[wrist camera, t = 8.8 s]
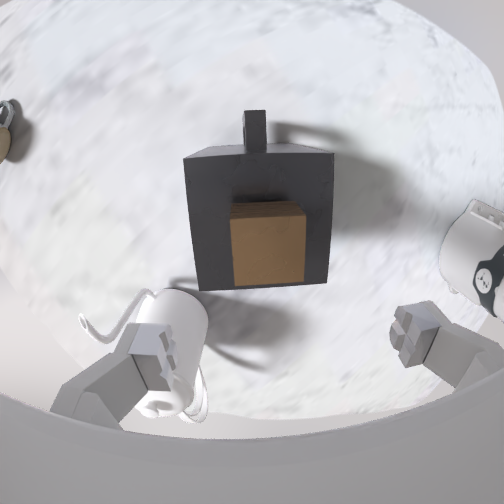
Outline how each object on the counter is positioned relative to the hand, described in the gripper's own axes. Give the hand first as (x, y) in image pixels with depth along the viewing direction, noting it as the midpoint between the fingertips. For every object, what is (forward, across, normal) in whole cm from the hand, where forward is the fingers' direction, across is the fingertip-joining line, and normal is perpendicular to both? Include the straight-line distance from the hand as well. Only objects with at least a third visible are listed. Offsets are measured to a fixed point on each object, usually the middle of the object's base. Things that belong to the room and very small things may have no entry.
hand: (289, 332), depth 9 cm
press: (+27, 0, -1) cm, 27 cm away
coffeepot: (+27, +13, +19) cm, 36 cm away
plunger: (+26, 0, 0) cm, 26 cm away
